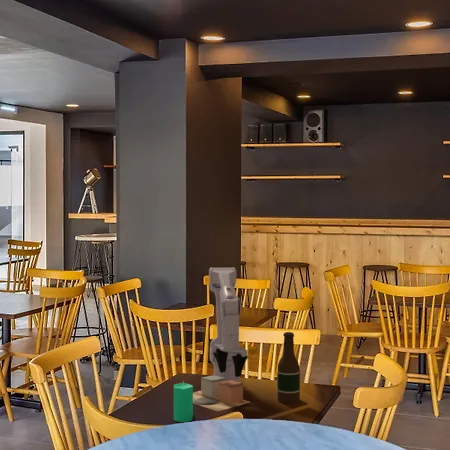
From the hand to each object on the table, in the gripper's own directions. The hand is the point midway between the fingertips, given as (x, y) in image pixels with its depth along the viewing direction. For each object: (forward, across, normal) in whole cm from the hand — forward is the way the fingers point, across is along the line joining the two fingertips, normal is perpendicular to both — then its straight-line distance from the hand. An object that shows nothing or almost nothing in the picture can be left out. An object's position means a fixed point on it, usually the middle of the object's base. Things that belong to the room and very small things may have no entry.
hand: (230, 374), depth 232 cm
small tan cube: (+9, 0, 0) cm, 9 cm away
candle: (+10, +2, -22) cm, 25 cm away
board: (+10, -5, -4) cm, 12 cm away
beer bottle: (+10, +13, +15) cm, 22 cm away
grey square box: (+9, -9, 0) cm, 13 cm away
